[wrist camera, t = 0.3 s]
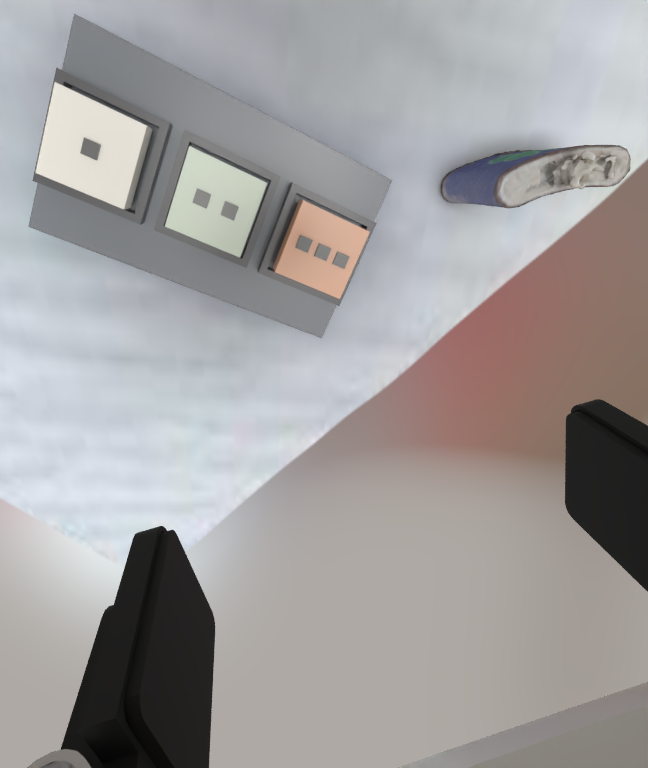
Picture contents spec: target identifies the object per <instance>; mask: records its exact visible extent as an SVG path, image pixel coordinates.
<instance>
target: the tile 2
mask: <svg viewBox="0 0 648 768" xmlns="http://www.w3.org/2000/svg"><path fill="white" fill-rule="evenodd" d="M266 185H267V183H266V182H264V181H262V180H260V179H258V178H256V177H254V176H252V175H249V174H247V173H245V172H243V171H241V170H239V169H237V168H235V167H233V166H231V165H228V164H226V163H224V162H222V161H220V160H218V159H216V158H214V157H212V156H210V155H207V154H205V153H203V152H201V151H199V150H197V149H195V148H193V147H191V146H189V149H188V152H187V155H186V158H185V162H184V165H183V168H182V171H181V175H180V178H179V181H178V184H177V188H176V191H175V194H174V197H173V201H172V204H171V207H170V210H169V214H168V217H167V220H166V223H165V227H167V228H170V229H172V230H174V231H177V232H179V233H182V234H184V235H187V236H189V237H191V238H194V239H196V240H199V241H201V242H203V243H206V244H208V245H211V246H213V247H215V248H218V249H220V250H223V251H225V252H227V253H230V254H232V255H235V256H237V257H240V256H241V253H242V251H243V248H244V245H245V243H246V240H247V237H248V234H249V232H250V229H251V226H252V223H253V221H254V218H255V215H256V212H257V210H258V207H259V204H260V202H261V199H262V196H263V193H264V191H265V188H266Z"/></svg>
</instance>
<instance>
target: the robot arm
mask: <svg viewBox="0 0 648 768" xmlns="http://www.w3.org/2000/svg"><path fill="white" fill-rule="evenodd" d="M565 470H566V472H565V474H566V475H565V477H566V478H565V480H566V481H565V504H566V508H567V511H568V513H569V514H570V516H571V517H572V518H573V519H574V520H575V521H576V522H577V523H578V524H579V525H580V526H581V527H582V528H583V529H584V530H585V531H586V532H587V533H588V534H589V535H590V536H591V537H592V538H593V539H594V540H595V541H596V542H597V543H598V544H599V545H600V546H601V547H602V548H603V549H604V550H605V551H607V552H608V553H609V554H610V555H611V556H612V557H613V558H614V559H615V560H616V561H617V562H618V563H619V564H620V565H621V566H622V567H623V568H624V569H625V570H626V571H627V572H628V573H629V574H630V575H631V576H632V577H633V578H634V579H635V580H636V581H637V582H638V583H639V584H640V585H641V586H642V587H643V588H644V589H646V590H647V591H648V426H647V425H645V424H644V423H642V422H640V421H638V420H637V419H634V418H633V417H631V416H629V415H628V414H626V413H624V412H623V411H621V410H619V409H617V408H616V407H614V406H612V405H610V404H609V403H607V402H605V401H603V400H599V399H598V400H593V401H590V402H586V403H583V404H579V405H576V406H574V407H573V408H572V410H571V414H569V415H568V416H567V418H566V469H565ZM214 642H215V621H214V616H213V613H212V610H211V608H210V606H209V604H208V601H207V599H206V597H205V595H204V593H203V591H202V589H201V586H200V584H199V582H198V580H197V578H196V575H195V573H194V571H193V569H192V567H191V564H190V562H189V560H188V558H187V556H186V554H185V551H184V549H183V547H182V545H181V543H180V541H179V538H178V536H177V534H176V532H175V531H174V530H170V531H167V530H166V529H165V528H164V527H163V526H159V527H156V528H153V529H149V530H146V531H142V532H139V533H136V534H135V536H134V538H133V541H132V545H131V548H130V551H129V555H128V558H127V562H126V565H125V569H124V572H123V576H122V579H121V582H120V586H119V589H118V592H117V596H116V599H115V603H114V605H112V606H109V607H108V608H107V609H106V610H105V612H104V614H103V616H102V619H101V622H100V625H99V628H98V632H97V635H96V638H95V641H94V644H93V648H92V651H91V654H90V657H89V660H88V664H87V667H86V670H85V674H84V676H83V680H82V683H81V686H80V689H79V692H78V696H77V699H76V702H75V705H74V709H73V712H72V715H71V718H70V721H69V724H68V728H67V731H66V734H65V737H64V741H63V744H62V747H61V750H59V751H54V752H51V753H49V754H47V755H45V756H43V757H41V758H40V759H38V760H36V761H35V762H34V763H32V764H31V765H30V766H29V767H27V768H209V751H210V730H211V708H212V707H211V706H212V686H213V663H214ZM399 768H648V682H646V683H643V684H640V685H637V686H634V687H631V688H628V689H625V690H622V691H619V692H616V693H613V694H610V695H607V696H604V697H602V698H599V699H596V700H593V701H590V702H587V703H584V704H581V705H578V706H576V707H572V708H569V709H567V710H564V711H561V712H558V713H555V714H552V715H549V716H546V717H543V718H540V719H537V720H534V721H531V722H529V723H526V724H523V725H520V726H517V727H514V728H511V729H508V730H505V731H502V732H500V733H497V734H494V735H491V736H488V737H485V738H482V739H479V740H477V741H474V742H471V743H468V744H465V745H462V746H459V747H456V748H453V749H450V750H447V751H444V752H442V753H439V754H436V755H433V756H430V757H428V758H425V759H422V760H419V761H416V762H413V763H411V764H407V765H405V766H402V767H399Z"/></svg>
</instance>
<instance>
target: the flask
mask: <svg viewBox="0 0 648 768" xmlns="http://www.w3.org/2000/svg"><path fill="white" fill-rule="evenodd" d="M630 160H631V159H630V155H629V153H628V151H627V149H625V148H623V147H621V146H616V145H584V146H574V147H567V148H557V149H548V150H534V151H533V150H525V151H519V150H517V151H515V152H514V151H513V152H512V151H509V152H504V153H501V154H500V153H499V154H495V155H493V156H491V157H488V158H487V157H486V158H484V159H482V160H478V161H475V162H473V163H470V164H469V163H468V164H466V165H464V166H463V167H459V168H457V169H455V170H454V171H452V172H450V173H449V174H448V175H447V176H446V177H445V178H444V180H443V182H442V186H443V187H441V188H442V194H443V197H444V199H446V200H447V201H448V202H450V203H466V204H479V205H487V206H497V207H504V208H514V207H520V206H522V205H524V204H526V203H528V202H530V201H533V200H535V199H537V198H540V197H542V196H545V195H549V194H554V193H556V192H561V191H565V190H570V189H574V188H579V189H583V188H584V187H608V186H614V185H616V184H618V183H619V182H620V181H621V180H622V179H623V178H624V177H625V176H626V175H627V173H628V172H629V171H630Z"/></svg>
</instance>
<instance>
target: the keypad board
mask: <svg viewBox="0 0 648 768" xmlns="http://www.w3.org/2000/svg"><path fill="white" fill-rule="evenodd" d="M55 82H56V83H58V84H60V85H63V86H65V87H67V88H69V89H71V90H73V91H75V92H77V93H79V94H81V95H84V96H86V97H88V98H90V99H92V100H94V101H96V102H98V103H100V104H102V105H105V106H107V107H109V108H111V109H113V110H115V111H117V112H119V113H121V114H123V115H126V116H128V117H130V118H132V119H134V120H136V121H138V122H140V123H142V124H144V125H147V126H148V127H150V128H151V129H153V130H152V134H151V137H150V141H149V145H148V148H147V152H146V155H145V159H144V162H143V166H142V169H141V173H140V177H139V180H138V184H137V187H136V191H135V194H134V198H133V201H132V205H131V208H128V209H121V208H119V207H117V206H114V205H112V204H109V203H107V202H105V201H102V200H100V199H97V198H95V197H93V196H90V195H88V194H85V193H83V192H80V191H78V190H76V189H73V188H71V187H68V186H66V185H64V184H61V183H59V182H56V181H54V180H52V179H49V178H47V177H44V176H42V175H40V174H37V173H35V172H36V168H37V163H38V158H39V153H40V149H41V144H42V139H43V135H44V130H45V125H46V120H47V116H48V111H49V106H50V102H51V97H52V92H53V87H54V83H55ZM53 87H52V92H51V97H50V101H49V106H48V111H47V116H46V120H45V125H44V130H43V134H42V139H41V144H40V149H39V153H38V158H37V163H36V168H35V172H34V177H33V181H35V182H37V183H38V185H37V189H36V194H35V199H34V203H33V208H32V213H31V217H30V222H29V227H31V228H33V229H36V230H39V231H41V232H44V233H47V234H49V235H52V236H54V237H57V238H60V239H62V240H65V241H68V242H70V243H73V244H75V245H78V246H81V247H83V248H86V249H89V250H91V251H94V252H96V253H99V254H102V255H104V256H107V257H110V258H112V259H115V260H117V261H120V262H123V263H125V264H128V265H131V266H133V267H136V268H139V269H141V270H144V271H146V272H149V273H152V274H154V275H157V276H160V277H162V278H165V279H167V280H170V281H173V282H175V283H178V284H181V285H183V286H186V287H188V288H191V289H194V290H196V291H199V292H202V293H204V294H207V295H209V296H212V297H215V298H217V299H220V300H223V301H225V302H228V303H230V304H233V305H236V306H238V307H241V308H244V309H246V310H249V311H252V312H254V313H257V314H259V315H262V316H265V317H267V318H270V319H273V320H275V321H278V322H280V323H283V324H286V325H288V326H291V327H294V328H296V329H299V330H301V331H304V332H307V333H309V334H312V335H315V336H317V337H320V338H322V336H323V334H324V332H325V329H326V327H327V325H328V323H329V320H330V318H331V316H332V314H333V311H334V309H335V307H336V305H338V306H339V305H340V303H341V301H342V298H343V296H344V294H345V292H346V289H347V287H348V285H349V283H350V281H351V278H352V276H353V274H354V272H355V270H356V267H357V265H358V263H359V261H360V258H361V256H362V254H363V252H364V250H365V247H366V245H367V243H368V241H369V238H370V236H371V234H372V232H373V230H374V227H375V225H376V223H375V222H374V220H375V218H376V216H377V213H378V211H379V209H380V207H381V204H382V202H383V200H384V198H385V195H386V193H387V191H388V189H389V186H390V184H391V182H392V180H390V179H388V178H386V177H385V176H383V175H381V174H379V173H377V172H375V171H373V170H371V169H369V168H367V167H365V166H364V165H362V164H360V163H358V162H356V161H354V160H352V159H350V158H348V157H346V156H345V155H343V154H341V153H339V152H337V151H335V150H333V149H331V148H329V147H327V146H325V145H324V144H322V143H320V142H318V141H316V140H314V139H312V138H310V137H308V136H306V135H304V134H303V133H301V132H299V131H297V130H295V129H293V128H291V127H289V126H287V125H285V124H284V123H282V122H280V121H278V120H276V119H274V118H272V117H270V116H268V115H266V114H264V113H263V112H261V111H259V110H257V109H255V108H253V107H251V106H249V105H247V104H245V103H243V102H242V101H240V100H238V99H236V98H234V97H232V96H230V95H228V94H226V93H224V92H223V91H221V90H219V89H217V88H215V87H213V86H211V85H209V84H207V83H205V82H203V81H202V80H200V79H198V78H196V77H194V76H192V75H190V74H188V73H186V72H184V71H182V70H181V69H179V68H177V67H175V66H173V65H171V64H169V63H167V62H165V61H163V60H162V59H160V58H158V57H156V56H154V55H152V54H150V53H148V52H146V51H144V50H142V49H141V48H139V47H137V46H135V45H133V44H131V43H129V42H127V41H125V40H123V39H121V38H120V37H118V36H116V35H114V34H112V33H110V32H108V31H106V30H104V29H102V28H101V27H99V26H97V25H95V24H93V23H91V22H89V21H87V20H85V19H83V18H81V17H80V16H78V15H76V14H74V17H73V22H72V27H71V31H70V36H69V41H68V45H67V50H66V55H65V59H64V64H63V69H62V70H60V69H58V68H56V73H55V78H54V82H53ZM189 146H191V147H193V148H195V149H197V150H199V151H201V152H203V153H205V154H207V155H210V156H212V157H214V158H216V159H218V160H220V161H222V162H224V163H226V164H228V165H231V166H233V167H235V168H237V169H239V170H241V171H243V172H245V173H247V174H249V175H252V176H254V177H256V178H258V179H260V180H262V181H264V182H266V183H267V185H266V188H265V191H264V193H263V196H262V199H261V202H260V204H259V207H258V210H257V212H256V215H255V218H254V221H253V223H252V226H251V229H250V232H249V234H248V237H247V240H246V243H245V245H244V248H243V251H242V253H241V256H240V257H237V256H235V255H232V254H230V253H227V252H225V251H223V250H220V249H218V248H215V247H213V246H211V245H208V244H206V243H203V242H201V241H199V240H196V239H194V238H191V237H189V236H187V235H184V234H182V233H179V232H177V231H174V230H172V229H170V228H167V227H165V223H166V220H167V217H168V214H169V210H170V207H171V204H172V201H173V197H174V194H175V191H176V188H177V184H178V181H179V178H180V175H181V171H182V168H183V165H184V162H185V158H186V155H187V152H188V149H189ZM299 199H301V200H304V201H306V202H308V203H310V204H312V205H315V206H317V207H319V208H321V209H323V210H325V211H327V212H329V213H331V214H333V215H336V216H338V217H340V218H342V219H344V220H346V221H348V222H350V223H352V224H354V225H357V226H359V227H361V228H363V229H365V230H367V231H369V232H370V233H369V235H368V238H367V240H366V242H365V244H364V246H363V249H362V251H361V253H360V255H359V258H358V260H357V262H356V264H355V266H354V269H353V271H352V273H351V275H350V278H349V280H348V282H347V284H346V287H345V289H344V291H343V293H342V295H341V298H340V299H338V298H336V297H333V296H331V295H329V294H326V293H324V292H321V291H319V290H317V289H314V288H312V287H309V286H307V285H305V284H302V283H300V282H297V281H295V280H293V279H290V278H288V277H285V276H283V275H280V274H278V273H276V272H275V271H274V269H273V266H274V263H275V261H276V258H277V255H278V253H279V250H280V248H281V245H282V243H283V240H284V238H285V235H286V233H287V230H288V227H289V225H290V222H291V220H292V217H293V215H294V212H295V210H296V207H297V204H298V202H299Z"/></svg>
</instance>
